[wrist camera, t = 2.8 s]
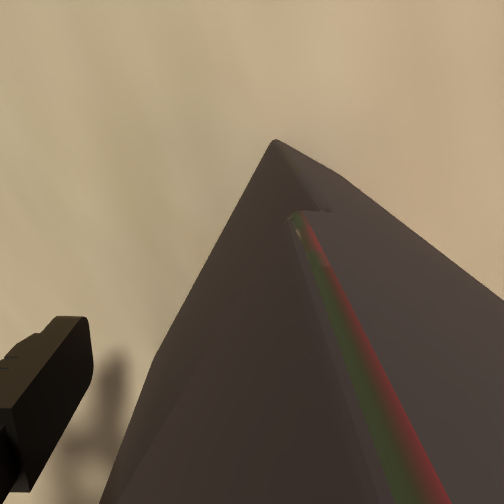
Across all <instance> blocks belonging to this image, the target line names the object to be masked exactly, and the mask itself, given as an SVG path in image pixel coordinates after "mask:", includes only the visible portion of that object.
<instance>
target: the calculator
mask: <svg viewBox="0 0 504 504" xmlns="http://www.w3.org/2000/svg"><path fill="white" fill-rule="evenodd" d="M99 504H504V301H503V300H502V299H501V298H500V297H498V296H497V295H496V294H494V293H493V292H492V291H490V290H489V289H488V288H487V287H485V286H484V285H483V284H481V283H480V282H479V281H477V280H476V279H475V278H474V277H472V276H471V275H470V274H468V273H467V272H466V271H464V270H463V269H462V268H461V267H459V266H458V265H457V264H455V263H454V262H453V261H451V260H450V259H449V258H448V257H446V256H445V255H444V254H442V253H441V252H440V251H438V250H437V249H436V248H435V247H433V246H432V245H431V244H429V243H428V242H427V241H425V240H424V239H423V238H422V237H420V236H419V235H418V234H416V233H415V232H414V231H412V230H411V229H410V228H409V227H407V226H406V225H405V224H403V223H402V222H401V221H399V220H398V219H397V218H396V217H394V216H393V215H392V214H390V213H389V212H388V211H386V210H385V209H384V208H383V207H381V206H380V205H379V204H377V203H376V202H375V201H373V200H372V199H371V198H370V197H368V196H367V195H366V194H364V193H363V192H362V191H360V190H359V189H358V188H357V187H355V186H354V185H353V184H351V183H350V182H349V181H347V180H346V179H345V178H344V177H342V176H341V175H339V174H337V173H336V172H334V171H332V170H331V169H329V168H327V167H325V166H324V165H322V164H320V163H318V162H317V161H315V160H313V159H311V158H310V157H308V156H306V155H304V154H303V153H301V152H299V151H297V150H296V149H294V148H292V147H290V146H289V145H287V144H285V143H283V142H281V141H279V140H277V139H275V140H273V141H272V142H271V143H270V145H269V146H268V148H267V150H266V152H265V154H264V155H263V157H262V159H261V161H260V163H259V165H258V167H257V168H256V170H255V172H254V174H253V176H252V178H251V180H250V181H249V183H248V185H247V187H246V189H245V191H244V192H243V194H242V196H241V198H240V200H239V202H238V204H237V205H236V207H235V209H234V211H233V213H232V215H231V216H230V218H229V220H228V222H227V224H226V226H225V228H224V229H223V231H222V233H221V235H220V237H219V239H218V241H217V242H216V244H215V246H214V248H213V250H212V252H211V253H210V255H209V257H208V259H207V261H206V263H205V265H204V266H203V268H202V270H201V272H200V274H199V276H198V277H197V279H196V281H195V283H194V285H193V287H192V289H191V290H190V292H189V294H188V296H187V298H186V300H185V302H184V303H183V305H182V307H181V309H180V311H179V313H178V314H177V316H176V318H175V320H174V322H173V324H172V326H171V327H170V329H169V331H168V333H167V335H166V337H165V338H164V340H163V342H162V344H161V346H160V348H159V350H158V351H157V353H156V355H155V357H154V359H153V361H152V364H151V367H150V369H149V372H148V375H147V377H146V380H145V383H144V385H143V388H142V391H141V393H140V396H139V399H138V401H137V404H136V407H135V409H134V412H133V415H132V417H131V420H130V423H129V425H128V428H127V431H126V433H125V436H124V439H123V441H122V444H121V447H120V449H119V452H118V455H117V457H116V460H115V463H114V465H113V468H112V471H111V473H110V476H109V479H108V481H107V484H106V487H105V489H104V492H103V495H102V497H101V500H100V503H99Z"/></svg>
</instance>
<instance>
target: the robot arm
mask: <svg viewBox="0 0 504 504" xmlns="http://www.w3.org/2000/svg"><path fill="white" fill-rule="evenodd" d="M93 367H94V364H93V355H92V347H91V338H90V330H89V323H88V320H87V318H86V317H78V316H56V317H55V318H54V319H53V320H52V321H51V322H50V323H49V324H48V325H47V326H46V328H45V329H44V330H43V331H42V332H41V333H34V334H32V335H31V336H29V337H27V338H26V339H24V340H22V341H21V342H19V343H17V344H16V345H15V346H14V347H13V348H12V349H11V350H10V351H9V352H8V353H7V354H6V355H5V356H4V359H2V360H1V361H0V504H3V502H4V500H5V499H6V497H7V495H8V494H9V492H29V493H30V492H31V490H32V488H33V486H34V484H35V483H36V481H37V479H38V477H39V475H40V474H41V472H42V470H43V468H44V466H45V465H46V463H47V461H48V459H49V457H50V456H51V454H52V452H53V450H54V448H55V447H56V445H57V443H58V441H59V439H60V438H61V436H62V434H63V432H64V430H65V429H66V427H67V425H68V423H69V421H70V420H71V418H72V416H73V414H74V412H75V411H76V409H77V407H78V405H79V403H80V401H81V400H82V398H83V396H84V394H85V392H86V391H87V389H88V387H89V385H90V383H91V380H92V375H93Z"/></svg>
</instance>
